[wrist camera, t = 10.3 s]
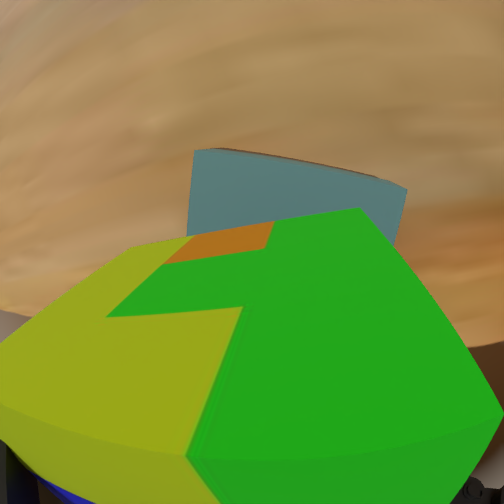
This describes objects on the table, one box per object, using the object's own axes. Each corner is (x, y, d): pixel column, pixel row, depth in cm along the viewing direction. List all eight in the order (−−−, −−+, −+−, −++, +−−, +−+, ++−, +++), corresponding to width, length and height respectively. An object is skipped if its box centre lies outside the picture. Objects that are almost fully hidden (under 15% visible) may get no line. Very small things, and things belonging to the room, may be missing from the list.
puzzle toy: (193, 406, 16) (131, 549, 7) (130, 247, 13) (-43, 380, 4) (369, 395, 14) (387, 570, 5) (359, 207, 11) (504, 413, 2)
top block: (213, 148, 23) (194, 150, 19) (389, 180, 22) (407, 189, 18) (198, 303, 28) (182, 329, 24) (346, 332, 27) (352, 363, 23)
